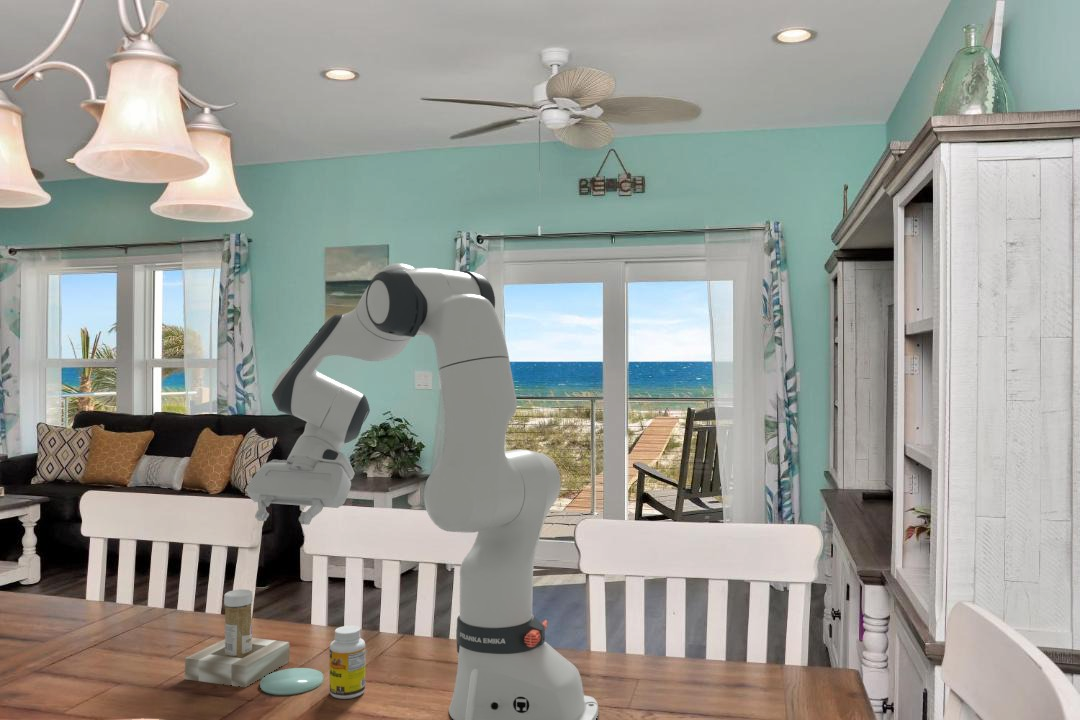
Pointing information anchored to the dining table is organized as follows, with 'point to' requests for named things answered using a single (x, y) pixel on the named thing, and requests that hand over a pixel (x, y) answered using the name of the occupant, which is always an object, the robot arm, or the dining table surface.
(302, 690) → the coaster
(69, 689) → the dining table surface
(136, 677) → the dining table surface
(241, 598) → the sprinkles bottle
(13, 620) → the dining table surface
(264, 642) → the bore block
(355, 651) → the supplement bottle
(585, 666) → the dining table surface
